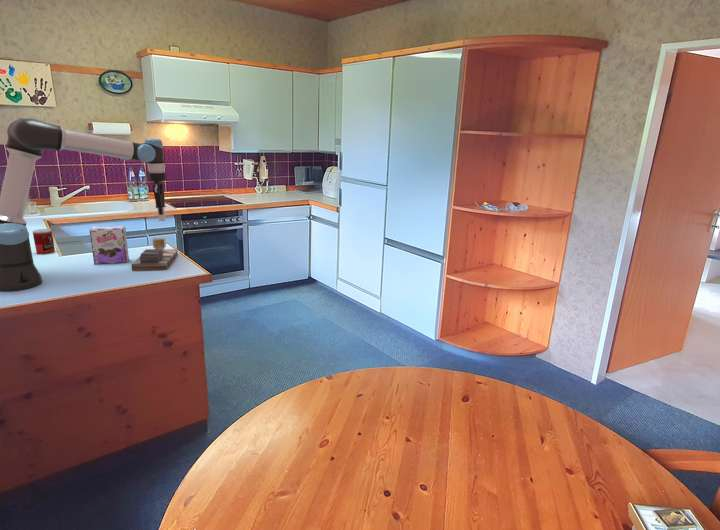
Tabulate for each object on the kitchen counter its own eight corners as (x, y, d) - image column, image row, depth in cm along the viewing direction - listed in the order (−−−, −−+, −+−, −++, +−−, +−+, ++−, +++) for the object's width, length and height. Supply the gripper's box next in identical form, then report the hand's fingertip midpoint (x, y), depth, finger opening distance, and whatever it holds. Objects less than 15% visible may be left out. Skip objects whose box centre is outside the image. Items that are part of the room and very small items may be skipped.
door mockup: (166, 270, 201) (164, 255, 199) (132, 271, 198) (130, 255, 196) (177, 255, 225) (176, 241, 223) (147, 255, 223) (146, 242, 221)
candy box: (93, 264, 206) (88, 229, 202) (97, 261, 212) (92, 226, 207) (127, 263, 210) (122, 228, 206) (129, 259, 215) (125, 225, 211)
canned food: (46, 254, 221) (42, 232, 218) (32, 253, 222) (28, 231, 219) (59, 251, 228) (55, 229, 225) (45, 250, 229) (41, 228, 226)
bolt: (161, 255, 212) (160, 242, 211) (150, 255, 211) (149, 242, 210) (166, 249, 222) (165, 237, 220) (155, 250, 221) (154, 238, 219)
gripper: (162, 173, 212) (167, 223, 219) (168, 171, 225) (173, 218, 231) (145, 173, 211) (150, 223, 218) (152, 171, 223) (157, 218, 230)
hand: (162, 220), depth 224 cm, fingers closed
